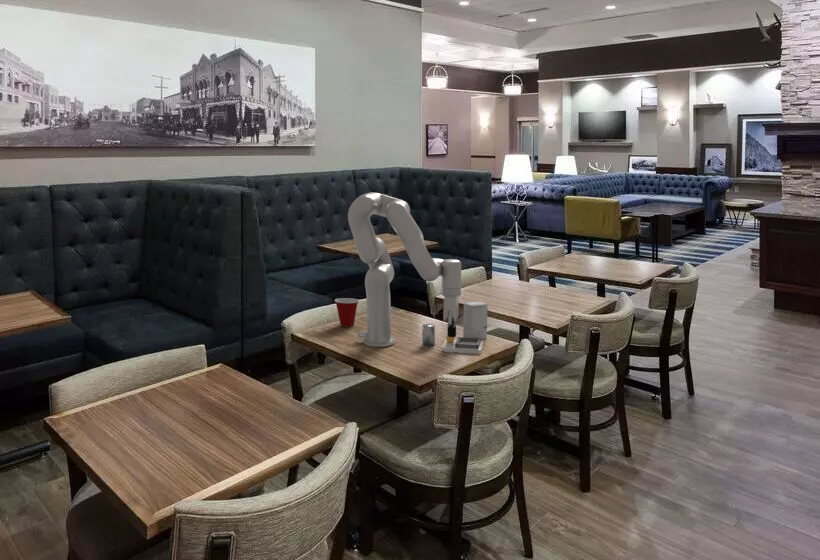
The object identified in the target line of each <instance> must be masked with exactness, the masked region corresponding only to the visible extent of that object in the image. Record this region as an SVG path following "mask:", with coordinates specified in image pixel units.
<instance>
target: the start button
mask: <svg viewBox="0 0 820 560" xmlns="http://www.w3.org/2000/svg"><path fill="white" fill-rule="evenodd" d="M454 339H455V337H448V335H446V339H445V340H446V341H447V342H454Z"/></svg>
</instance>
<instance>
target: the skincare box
mask: <svg viewBox="0 0 820 560" xmlns="http://www.w3.org/2000/svg"><path fill="white" fill-rule="evenodd" d="M462 327H463V330H462V331H463V332H462V333H463V334H462V337H466V338H481V340H484V339H487V335H488V334H487V333H488V331H487V329H488V303H485V302H483V301H471V302H464V303H463V326H462Z"/></svg>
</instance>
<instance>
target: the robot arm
mask: <svg viewBox="0 0 820 560" xmlns="http://www.w3.org/2000/svg"><path fill="white" fill-rule="evenodd" d="M373 215H376V216H381V217H385V218H386V219H387V221H388V223H389V224H390V226H391V227H392V228H393V230H394V232H395V233H396V236H398V238H399V239H400V241H401V242H402V244H403V247H404V249H405V251H406V254H407V255H408V257H409V259H410V261H411V263H412V265H413V266H414V269H416V271H417V272H418V274H419V276H420V277H421V279H423V280H424V281H428V282H433V281H435V280H437V279H438V278H439V277H441V295H442V296H443V297H444V298H443V313H442V315H443V317H442V318H443V319H442V320H443V322H446V321H447V329H446V330H447V336H448V337H454V338H456V336H457V325H456V324H457V319H458V317H459V297H461V296H462V262H461V260H458V259H456V258H455V259H454V258H453V259H452V258H449V259H442V258H436V257H432V256H431V254H430V253H429V251H428V249H427V247H426V245H425V244H426V243H425V241H424V239H425V238H424V234H423V232H422V230H421V229H420V227H419V225H418V224H417V223H416V221H415V220H414V217H413V216H412V215H411V208H410V205H409V204H408V202H407V201H404V200H403V199H399V198H396V197H392V196H390V195H389V196H388V195H386V194H383V193H382V194H381V193H379V192H374V191H373V192H372V191H371V192H367V193H363V194H362V195H359V196H358V197H357V198H356V199H355V200H354V201H353V202H352V203H351V205H350V206H349V209H348V213H347V220H348V224H349V227H350V230H351V231H350V232H351V233H352V237H353V240H354V243H355V247H356V249H357V253H358V256H359V258H360V260H361V261H362V262H363V263H364V264H367V265H368V267H369V269H368V270H367V272H366V274H365V278H364V287H365V293H366V296H365V297H366V323H367V325H366V326H367V327H366V329H367V330H365V331H357V332H356V333H357V337H358V338H362V339H363V344H364V345H365V346H368V347H371V348H372V347H373V348H384V347H391V346H392V345H395V343H396V340H395V338H394V337H393V336H392V316H391V315H392V312H391V311H392V309H391V308H392V307H391V304H392V303H391V289H390V283H391V282H392V281H393V279H394V278H395V277H394V276H395V270H394V266H393V263H392V260H391V257H390V253H389V250H388V247H387V245H386V243H385V242H384V241H383V240H382V239H381V238H380V237H377V235H376V232H375V229H374V226H373V224H372V222H371V217H372V216H373Z"/></svg>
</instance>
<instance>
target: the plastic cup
mask: <svg viewBox="0 0 820 560" xmlns="http://www.w3.org/2000/svg"><path fill="white" fill-rule="evenodd" d="M359 302H360V299H357V298H350V297H342V298H336V299H334V303H335V305H336V309H337V314H338V319H339V324H340V326H341V325H342V326H352V327H354V326H355V319H356V314H357V309H358V308H357V307H358V304H359ZM353 325H354V326H353ZM342 326H341V327H342Z"/></svg>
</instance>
